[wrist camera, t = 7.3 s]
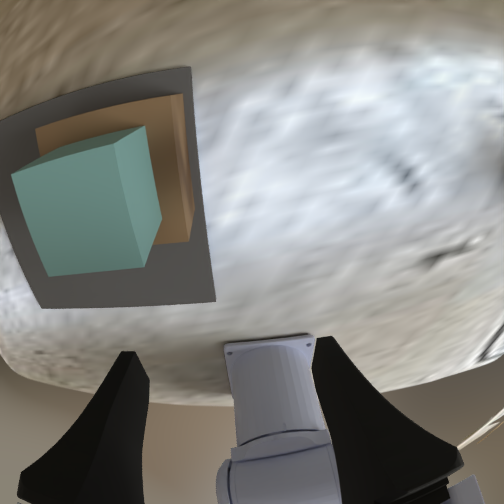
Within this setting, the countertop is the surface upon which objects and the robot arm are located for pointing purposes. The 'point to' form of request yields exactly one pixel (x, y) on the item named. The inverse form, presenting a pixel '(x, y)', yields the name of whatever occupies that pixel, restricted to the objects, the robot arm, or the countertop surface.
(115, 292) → the mat
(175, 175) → the walnut block
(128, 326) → the countertop surface
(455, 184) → the countertop surface
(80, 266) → the teal block
